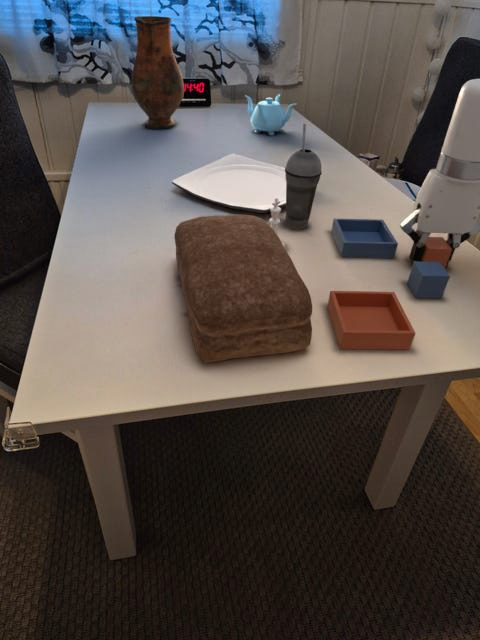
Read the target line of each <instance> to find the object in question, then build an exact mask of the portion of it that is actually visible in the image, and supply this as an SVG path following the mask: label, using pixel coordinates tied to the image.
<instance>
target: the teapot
mask: <svg viewBox="0 0 480 640" xmlns="http://www.w3.org/2000/svg"><path fill="white" fill-rule="evenodd" d="M244 96H245V98H246V100H247V114H248V116H249V118H250V124H251V126H252V128H254V129H255V130H254V133H262V132H267V133H268V135H269V136H274V135H275V132H281V130H282V129H283V128H284V127H285V126H286V123H287V122H289V121H290V118H291V115H292V111H293V108H294V107H295V106H296V105H297V103H291V104H289V105H288V107H287V110H286V113H285V111H284V109H283V106H282V105H281V103H280V97H281V94H280V93H277V94H276V96H275V98H273V97H266V98H265V100H261V101H259V102H258V103H257V104H256V106H255V107H254V106H253V100H252V98H251V96H249V95H248V94H247V95H246V94H245V95H244Z"/></svg>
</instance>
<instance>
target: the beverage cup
mask: <svg viewBox="0 0 480 640" xmlns="http://www.w3.org/2000/svg"><path fill="white" fill-rule="evenodd" d="M306 129H307V124H306V123H303V124H302V141H301V143H302V145H301V148H300V149H297V150H295V152H293V153H292V154H291V155H290V156H289V157H288V160H287V161H286V165H285V167H284V168H285V172H286V173H285V177H286V205H285V225H286V227H287V228H289V229H291V230H294V231H302V230H305V229H307V228H308V224H309V221H310V217H311V213H312V209H313V205H314V200H315V196H316V192H317V188H318V184H319V182H320V180H321V176H322V174H323V172H322V171H323V170H322V162H321V159H320V157H319V156H318V154H317V153H316V152H315V151H313V150H311V149H308V148H306V132H307V131H306Z"/></svg>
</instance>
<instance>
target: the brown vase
mask: <svg viewBox="0 0 480 640" xmlns="http://www.w3.org/2000/svg"><path fill="white" fill-rule="evenodd" d="M134 21H135V26H136V37H137V43H136V44H137V45H136V47H137V48H136V54H135V59H134V62H133V68H132V73H131V90H132V93H133V98H134V100H135V101H136V103H137V105H138V106H139V108H140V109H141V110H142V111H143V112H144V114H145V115H146V116H147V118H148V119H146V120H145V122H144V124H145V126H146V127H147V128H150V129H154V130H155V129H156V130H162V129H169V128H173V127H175V125H176V122H175V120H173V118H172V116H173V115H174V113H175V112H176V111H177V110H178V108H179V107H180V105H181V102H182V100H183V98H184V94H185V82H184V78H183V74H182V71H181V69H180V66H179V65H178V62H177V59H176V57H175V54H174V51H173V43H172V35H171V23H172V18H171V17H169V16H158V15H157V16H155V15H152V16H151V15H146V16H145V15H144V16H143V15H142V16H141V15H140V16H135V17H134Z"/></svg>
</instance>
